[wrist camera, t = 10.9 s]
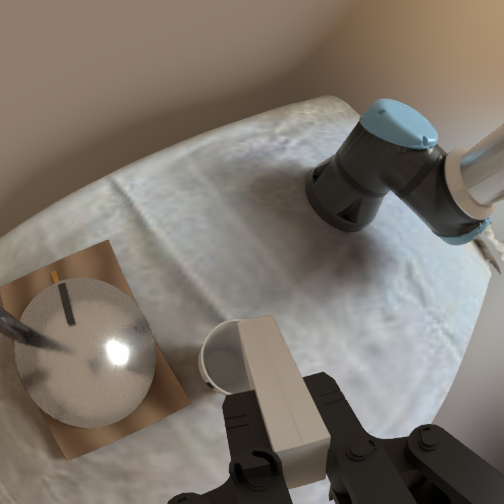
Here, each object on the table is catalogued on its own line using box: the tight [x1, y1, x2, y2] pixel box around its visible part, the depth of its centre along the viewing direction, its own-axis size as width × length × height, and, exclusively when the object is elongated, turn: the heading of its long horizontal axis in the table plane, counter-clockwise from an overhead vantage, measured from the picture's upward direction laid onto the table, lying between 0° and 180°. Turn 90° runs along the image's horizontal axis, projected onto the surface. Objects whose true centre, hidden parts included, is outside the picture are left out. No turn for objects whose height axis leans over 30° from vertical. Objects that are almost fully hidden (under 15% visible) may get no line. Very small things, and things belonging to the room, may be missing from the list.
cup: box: [198, 319, 251, 395], centre depth 34 cm, size 8×8×10 cm
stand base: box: [0, 240, 191, 461], centre depth 33 cm, size 18×24×2 cm
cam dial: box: [0, 278, 156, 428], centre depth 25 cm, size 18×18×16 cm
